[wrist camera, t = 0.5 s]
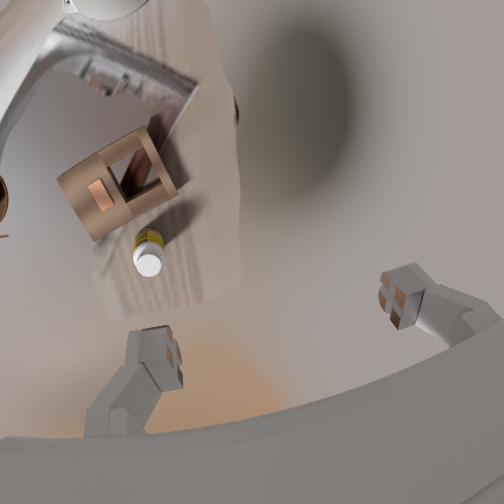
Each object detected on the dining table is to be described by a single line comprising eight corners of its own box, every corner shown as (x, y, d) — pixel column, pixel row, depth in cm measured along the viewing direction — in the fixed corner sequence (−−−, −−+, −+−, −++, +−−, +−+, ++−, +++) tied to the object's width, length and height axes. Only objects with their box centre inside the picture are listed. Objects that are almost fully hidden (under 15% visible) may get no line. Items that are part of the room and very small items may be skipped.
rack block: (60, 175, 47) (55, 179, 44) (144, 125, 48) (144, 126, 45) (96, 235, 53) (93, 242, 50) (177, 190, 55) (178, 195, 52)
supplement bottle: (146, 221, 55) (145, 243, 47) (168, 238, 58) (173, 262, 50) (128, 244, 56) (126, 269, 47) (151, 259, 59) (153, 286, 50)
